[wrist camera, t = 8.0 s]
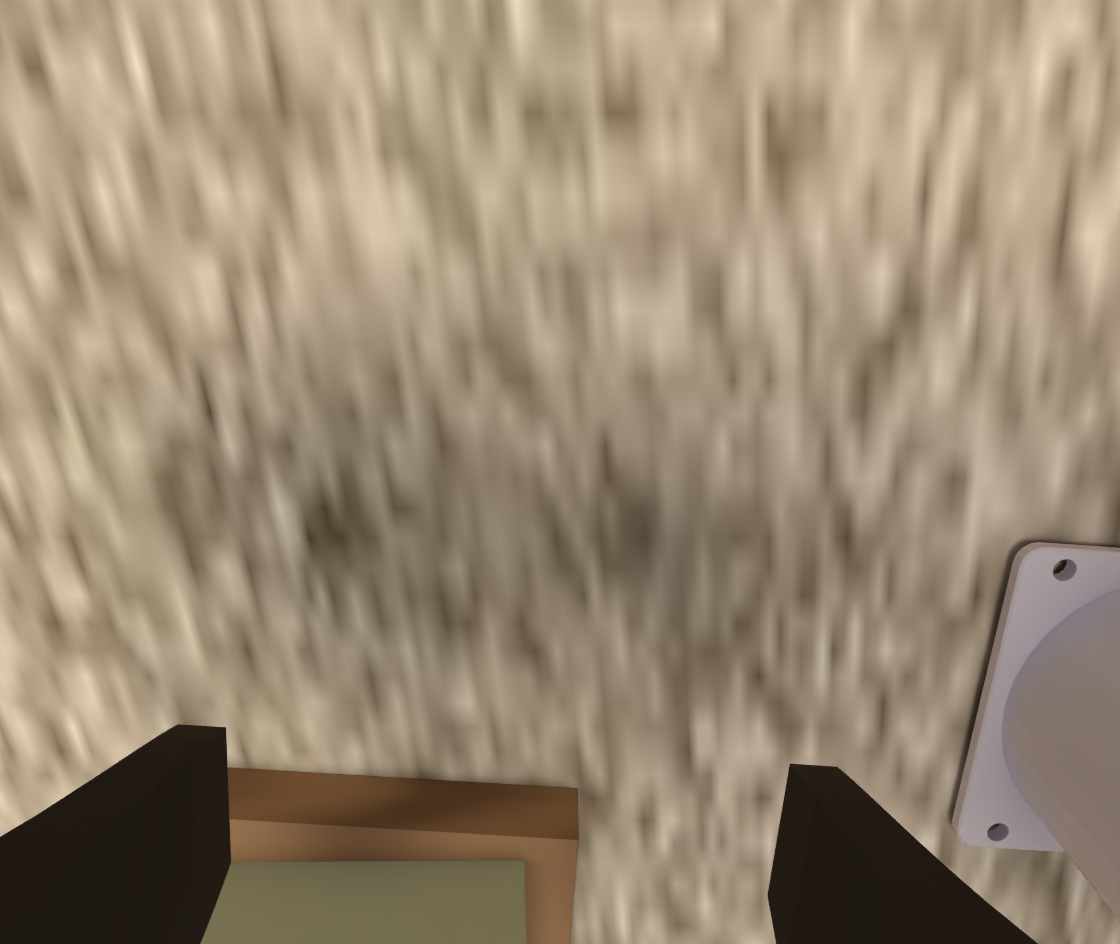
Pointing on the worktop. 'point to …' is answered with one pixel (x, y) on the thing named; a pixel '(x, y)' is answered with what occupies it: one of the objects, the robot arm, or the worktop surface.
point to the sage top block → (371, 903)
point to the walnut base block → (414, 828)
